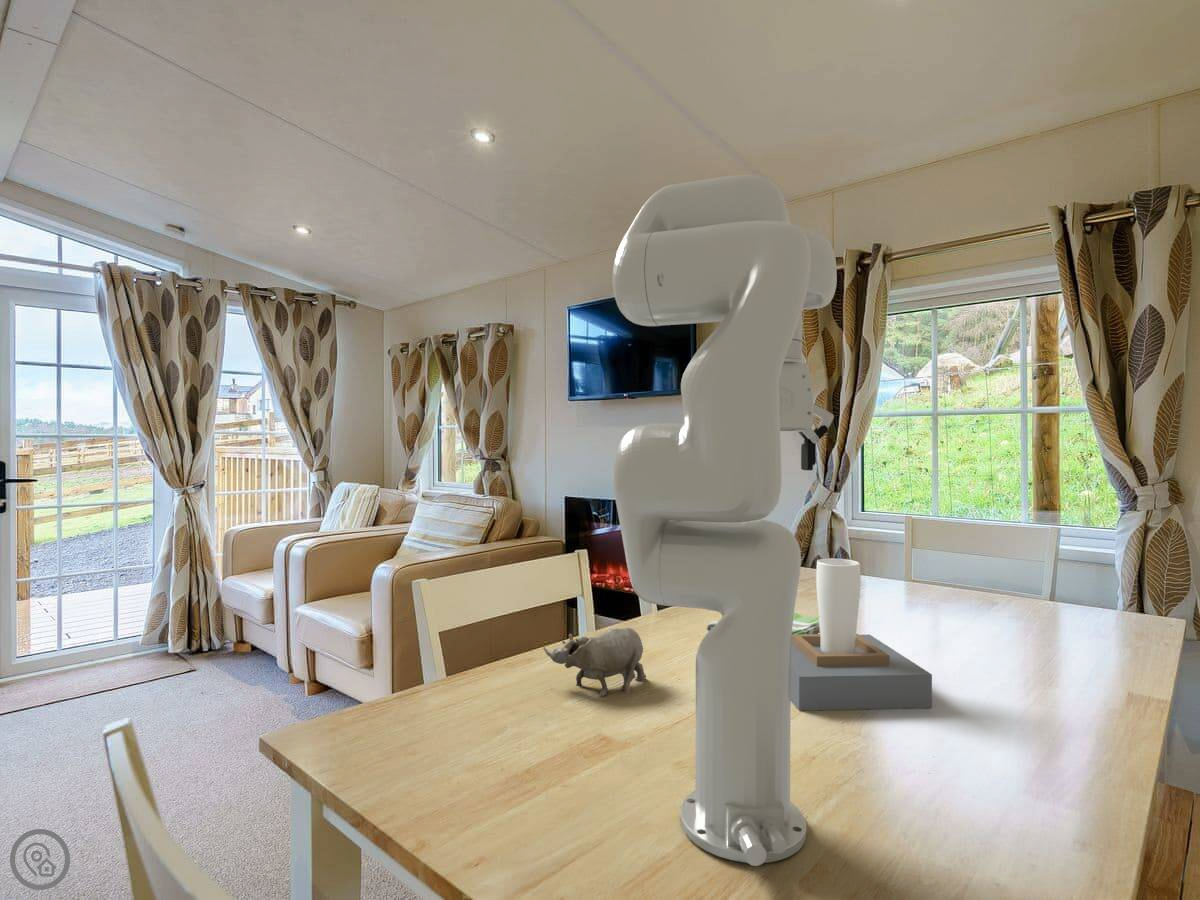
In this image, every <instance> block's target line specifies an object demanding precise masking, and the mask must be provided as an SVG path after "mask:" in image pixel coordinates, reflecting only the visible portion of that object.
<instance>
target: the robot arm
mask: <svg viewBox="0 0 1200 900" xmlns="http://www.w3.org/2000/svg"><path fill="white" fill-rule="evenodd" d="M612 268H613V270H612V289H613V296H614V300H615V302H616V305H617V308H618V310H619V311H620V313H621V314H622V315H623V316H624V317H625V318H626V319H627V320H628V321H630V322H632V323H633V324H636V325H639V326H643V327H644V326H645V327H661V326H671V325H672V326H674V325H691V324H705V323H718V322H720V323H719V324H718V326H716V328H715V330H714V331H712V332H711V334H710V335H709V336H708V337H707V338H706V339H705V340H704V342H702V344H701V345H700V347H699V348H698V349H697V351H696V352H695V353H694V355H693V356H692V358H691V360H690V362H689V363H688V364H687V366H686V368H685V370H684V372H683V373H682V377H681V382H680V393H681V400H682V409H683V410H682V413H683V421H684V422H681V423H679V422H674V423H673V422H671V423H649V424H641V425H639V426H636V427H633V428H631V429H630V430H629V431H627V432H626V433H625V434H624V435H623V437H622V438H621V440H620V442H619V444H618V447H617V448H616V449H617V450H616V452H615V458H614V464H613V489H614V491H613V492H614V497H615V498H614V499H615V505H616V510H617V515H618V516H617V517H618V521H619V526H620V527H619V529H620V533H621V537H622V538H621V539H622V545H623V549H624V555H625V562H626V567H627V571H628V577H629V581H630V584H631V586H632V589H633V591H634V592H635V594H636V595H637V596H638V597H639V598H640V599H641V600H643V601H644V602H646V603H649V604H653V605H658V606H667V607H677V608H689V609H698V610H700V609H701V610H707V611H712V612H716V613H719V614H721V618H720V619H719V622H718V623H717V624H716V625H715V626H714V627H713V628H712V629H711V630H710V631H709V632H708V631H707V633H706V634H705V635H704V636H703V638H702V639H701V641H700V643H699V644H698V645H699V646H698V647H697V651H696V655H695V778H694V779H695V783H694V784H695V785H694V786H695V790H693V791H692V792H691V793H690V794H688V795H687V796H686V797H685V799H683V801H682V804H681V806H680V814H679V815H680V817H679V819H680V824H681V825H680V826H681V828H682V830H683V831H684V834H685V835H686V836H687V837H688V839H689V840H690V841H691V842H693V843H694V844H695V845H696V846H697V847H699V848H701V849H702V850H705V851H706V852H708V853H710V854H712V855H714V856H717V857H719V858H722V859H726V860H729V861H733V862H739V863H746V864H749V865H750V866H752V867H753V866H754V867H758V866H760V865H763V864H766V863H773V862H778V861H781V860H784V859H787V858H789V857H791V856H793V855H794V854H796V853H797V852H799V851H800V849H801V848H802V847H803V846H804V844H805V842H806V839H807V822H806V818H805V816H804V813H802V811H801V810H800V809H799V807H797V805H795V804H794V803H793V802H792V801H791V701H790V700H791V644H792V626H793V617H794V613H795V607H796V602H797V601H796V600H797V595H798V590H799V588H798V587H799V581H800V576H801V567H802V566H801V565H802V564H801V563H802V562H801V561H802V557H801V548H800V545H799V542H798V540H797V538H796V536H795V535H794V534H793V532H791V530H790V529H788V527H787V528H786V527H785V526H783V525H782V524H779V523H777V522H774V521H771V520H765V519H764V518H766V517H768V516H769V515H770V514H771V513H773V512H774V510H775V509H776V507H777V505H778V503H779V500H780V497H781V493H782V492H781V491H782V490H781V489H782V450H781V444H782V443H781V432H797V434H798V435H799V436H800V438H802V439H803V443H801V445H800V446H801V448H800V452H801V453H800V458H801V459H800V469H801V470H802V471H813V470H814V466H815V465H816V462H817V461H816V459H817V458H816V457H817V455H816V454H817V453H816V452H817V444H818V443H819V441H820V439H821V438H822V437H824V436H825V435H826V434H827V432H828V430H829V428H830V427H831V424H832V423H833V420H834V418H835V416H834V415H835V414H833V413H831V412H830V411H828V410H826V409H824V408H822V407H820V406H819V405H817V404H815V403H814V395H813V387H812V386H813V385H812V380H811V374H810V369H809V365H808V364H809V363H807V362H803V310H806V311H807V310H815V309H822V308H824V307H826V306H828V305H829V304H830V303H831V301H832V300H833V298H834V296H835V294H836V289H837V280H838V276H837V275H838V273H837V271H838V270H837V261H836V254H835V249H834V248H833V246H832V243H831V242H830V240H829V239H828V238H827V237H825V236H824V235H822V234H820V233H817V232H815V231H812V230H809V229H806V228H803V227H799V226H797V225H795V224H794V223H791V220H790V216H789V211H788V207H787V203H786V200H785V197H784V194H783V193H782V191H781V189H780V188H779V187H778V186H777V185H776V184H775V183H774V182H773V181H771V180H770V179H768V178H766V177H763V176H760V175H756V174H755V175H754V174H737V175H735V174H734V175H727V176H721V177H720V176H719V177H715V178H708V179H702V180H701V179H700V180H694V181H688V182H680V183H673V184H669V185H666V186H663V187H662V188H660V189H658V190H657V191H655V192H654V193H653V194H652V195H651V196H650V197H649V198H648V199H647V200H646V202H645V203H644V204H642V207H641V208H640V210H639V212H638V213H637V214H636V216H635V218H634V220H633V221H632V223H631V225H630V226H629V228H628V230H627V231H626V233H625V235H624V236H623V238H622V240H621V242H620V244H619V246H618V249H617V251H616V255H615V257H614V262H613V267H612ZM815 417H816V418H818V419H819V420H820V421H819V423H818V426H817V427H815V428H814V429H812V427H814V426H813V425H814V419H815Z"/></svg>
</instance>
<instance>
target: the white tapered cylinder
mask: <svg viewBox="0 0 1200 900" xmlns="http://www.w3.org/2000/svg"><path fill="white" fill-rule="evenodd" d="M815 571H816V573H815V574H816V575H815V576H816V577H815V586H816V588H815V589H816V599H817V600H816V601H817V612H818V618H819V626H820V649H821V651H822V653H824V654H840V653H855V641H856V634H857V628H858V627H857V626H858V619H859V607H860V598H861V584H862V583H861V582H862V581H861V578H862V577H861V564H860V562H859V561H856V560H852V559H846V558H835V557H833V558H820V559H817V560H816V570H815Z"/></svg>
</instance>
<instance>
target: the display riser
mask: <svg viewBox="0 0 1200 900" xmlns="http://www.w3.org/2000/svg"><path fill="white" fill-rule="evenodd" d="M932 692H933V674H932V673H931V672H929V671H928V670H926V669H924V668H923V667H921V666H919V665H918V664H916V663H915V662H913V661H911V660H910V659H908V658H907V657H906V656H905V655H902V654H901V653H899V652H898V651H896V650H894V649H893V648H892V647H889V646H888V645H886V644H885V643H884V642H882V641H880V639H878V638H876V637H874V636H873V635H871V634H858V633H856V641H855V653H840V654H824V653H822V651H821V649H820V634H792V644H791V700H790V703H792V704H793V705H794V706H795V708H796V709H797V710H798V712H799V711H801V712H802V711H838V710H839V711H841V710H845V711H846V710H847V711H849V710H852V711H853V710H854V709H855V710H895V709H896V710H899V709H903V710H905V709H932V708H933V706H932V705H933V701H932V700H933V699H932V698H933V693H932Z"/></svg>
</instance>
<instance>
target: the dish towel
mask: <svg viewBox="0 0 1200 900" xmlns="http://www.w3.org/2000/svg"><path fill="white" fill-rule="evenodd" d="M719 621H720V620H719ZM719 621H718V620H713V621H710V622H709V623H708V624H707V626H706V631H707V633H708V632H709V631H710V630H711V629H712V628H713V627H714V626H715V625H716V624H717V623H718V622H719ZM818 633H820V626H819V617H815V616H809V615H801V614H798V613H797V612H794V617H793V626H792V634H818Z"/></svg>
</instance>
